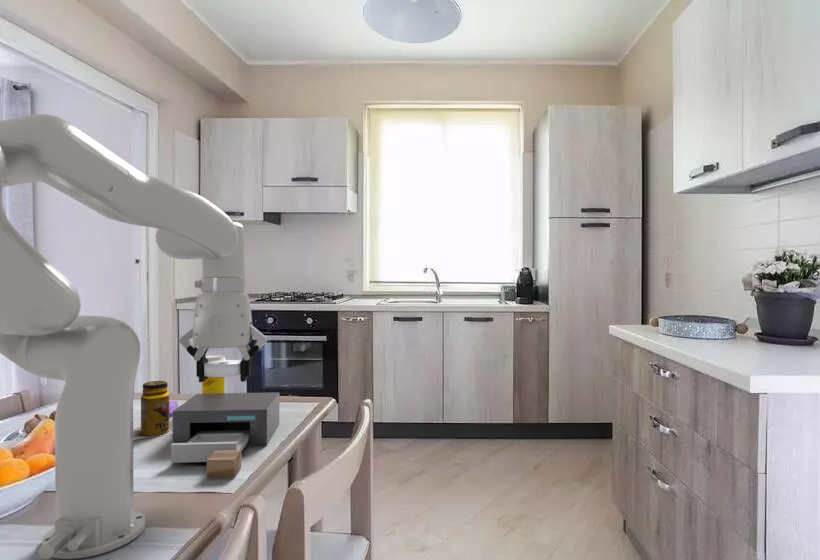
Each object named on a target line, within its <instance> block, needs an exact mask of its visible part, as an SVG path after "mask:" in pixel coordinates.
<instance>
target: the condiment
mask: <svg viewBox="0 0 820 560" xmlns="http://www.w3.org/2000/svg"><path fill="white" fill-rule="evenodd" d="M168 386H169V384H168V382H167V381H166V380H152V381H147V382H144V383H143V384H142V390H141V391H142V394H141V396H140V429H133V441H135V440H143V439H150V438H158V437H164V436H170V435H173V430H171V428H170V417H169V401H170V393H169V392H168ZM160 435H161V436H160ZM154 436H155V437H154Z"/></svg>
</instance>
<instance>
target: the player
mask: <svg viewBox="0 0 820 560" xmlns="http://www.w3.org/2000/svg"><path fill="white" fill-rule="evenodd" d="M279 425H280V392H226V393H214V394H202V393H196V394H195V395H194V396H192V397H191V398H189V399H188V400H187V401H185V402H184V403H182V404H181V405H178V407H177V409H175V410H174V411H173V417H172V433H173V434H172V444H173V443H187V442H188V441H189V440H190V439H191V438H192V437H193V436H194V435H196V434H197V433H198V432H199V431H232V430H250V440H249V441H248V442H247V444H246V445H245V447H266V446H268V445H269V443H270V441H271V439H272V437H273V436H274V434H275V432H276V431H277V429H278V427H279Z"/></svg>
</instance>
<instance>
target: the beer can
mask: <svg viewBox="0 0 820 560" xmlns="http://www.w3.org/2000/svg"><path fill="white" fill-rule="evenodd" d="M206 358H207V359H208V362H212V361H220V360H227V358H226V357H225V355H223V354H211V355H206ZM201 384H202V385H201V387H202V388H201V389H202V392H201V394H214V393H227V377H208V379H207V380H205V381H203V382H201Z"/></svg>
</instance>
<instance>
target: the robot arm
mask: <svg viewBox="0 0 820 560" xmlns="http://www.w3.org/2000/svg"><path fill="white" fill-rule="evenodd" d="M38 182H40V183H43V184H46V185H47V186H50V187H52V188H53V189H55V190H57V191H59V192H60V193H63V194H65V195H66V196H68V197H70V198H72V199H73V200H75V201H77V202H79V203H81V204H82V205H84V206H85V207H88V208H89V209H90V210H93V211H94V212H96V213H98V214H99V215H102V216H103V217H105V218H106V219H109V220H112V221H116V222H121V223H124V224H127V225H133V226H134V225H135V226H140V227H148V228H153V229H154V228H155V229H157V230H156V234H155V242H156V245H157V247H158V248H159V250H160V251H161V252H162V253H163V254H164V255H166V256H168V257H170V258H173V259H177V260H197V259H198V260H202V263H201V264H202V265H201V266H202V267H201V268H202V277H201V278H200V280H195V281H194V287H195V288H196V289H200V291H201V293H198V294H197V296H196V301H195V305H194V306H195V307H194V313H193V324H192V328H191V329H190V330H188V332H186V333H185V334H184V335H183V336H182V337H180V338H179V339H178V341H179V344H180V345H181V346H182V347H183V348H184V349H186V352H187V353H188V354H189V355H190V356H191V357H192V358H193V360H194V361H195V362H196V363H195V365H196V367H195V368H196V370H195V371H196V377H197V378H198V383H202V382H203V381H205V380H207V379H208V377H207V376H204V364H205V363H207V362H208V359H207V358H206V356H207V354H208V352H209V349H217V348H218V349H226V348H227V349H229V348H230V349H231V348H232V349H235V348H237V349H238V351H239V353H240V355H241V356H242V359H241V360H240V361H241V362H240V375H239V376H240V382H246V381H247V380H249V377H250V376H251V374H252V358H253V357H254V356H255V355H256V354H257V353H258V352H259V351H260V350H261V349H262V347H263V346H264V345H265V344H266V343H267V342H268V337H267V336H266V335H264V333H262V332H261V331H260V330H259V329H257V328H256V327H254V325H253V318H252V308H251V301H250V297H249V294H248V293H245V291H246V287H245V284H246V282H245V279H246V278H245V275H246V274H245V273H246V272H245V269H246V267H245V262H246V261H245V258H246V257H245V245H246V244H245V228H244V226H243V224H242V223H239V222H237V221H233V220H232V219H231V218H230V216H228V214H227V213H225V212H224V211H223V210H221V209H220V208H218V207H217V206H216V205H215V204H213V203H212V202H210V201H209V200H207V199H206V198H204V197H203V196H201V195H199V194H197V193H195V192H194V191H191V190H188V189H186V188H183V187H180V186H178V185H176V184H172V183H169V182H167V181H165V180H163V179H161V178H157V177H155V176H152V175H149V174H146V173H144V172H142V171H140V170H139V169H137V168H136V167H134V166H133V165H132V164H130V163H128V162H127V161H126V160H125V159H122V158H121V157H120V156H118V155H117V154H116V153H114V152H113V151H111V150H110V149H108V148H107V147H105V146H104V145H103V144H101V143H100V142H98V141H97V140H96V139H94V138H93V137H92V136H90V135H89V134H88V133H85V132H84V131H83V130H81V129H80V128H78V127H77V126H75V125H74V124H73V123H71V122H69V121H68V120H67V119H64V118H62V117H59V116H57V115H53V114H49V113H48V114H47V113H46V114H45V113H44V114H43V113H40V114H39V113H37V114H30V115H24V116H20V117H15V118H9V119H4V120H3V119H2V120H0V354H1V355H2V356H4V357H5V358H6V359H8V360H10V361H11V362H12V363H14V364H15V365H17V366H18V367H19V368H21V369H23V370H24V371H27V372H28V373H30V374H31V375H32V374H33V375H34V376H37V377H40V378H45V379H51V380H57V381H64V387H63V389H62V392H61V394H60V397H59V400H58V402H57V406H56V409H55V416H54V445H55V446H54V449H55V451H54V457H55V458H54V459H55V462H54V463H55V465H54V467H55V469H54V470H55V471H54V473H55V482H54V483H55V485H54V486H55V521H54V526H53V527H52V528H51V529H50V530H48V531H47V533H45V535H44V536H43V537H42V540H41V546H39V548H38V552H37V554H38V555H39V557H40V558H41V559H43V560H49V559H51V558H54V559H59V560H75V559H78V560H79V559H83V558H89V557H95V556H99V555H102V554H105V553H109V552H111V551H113V550H116V549H118V548H122V547H123V546H125V545H128V543H131V542H132V541H133V540H135V539H136V538H137V537H138V536H140V535H141V534H142V533H143V531H144V529H145V528H146V516H145V514H144V513H142V511H139V510H137V509H135V508H134V503H135V502H134V496H135V495H134V440H133V430H134V395H135V392H134V391H135V384H136V378H137V373H138V368H139V365H140V358H141V343H140V340H139V336H138V334H137V333H136V332H135V331H134V328H133V327H131V326H130V325H129V324H127V323H126V322H124V321H121V320H120V319H117V318H113V317H109V316H108V317H107V316H103V315H102V316H100V315H84V314H83V315H79V314H80V312H81V305H82V304H81V303H82V302H81V297H80V294H79V292H78V290H77V288H76V287H75V285H74V284H73V283H72V282H71V281H70V279H68V278H67V276H65V274H63V273H62V272H61V271H60V270H59V269H58V268H56V266H54V265H53V264H52V263H51V262H50V261H49V260H48V259H47V258H45V257H44V256H43V254H41V253H40V252H39V251H38V250H37V249H36V248H35V247H34V246H33V245H31V244H30V243H29V242H28V241H27V240H26V239H25V238H24V236H23V235H21V234H20V232H19V231H18V230H17V229H16V228H15V227H14V226H13V224H12V223H11V222H10V220H9V219H8V217H7V214H6V212H5V209H4V203H3V191H4V188H6V187H10V186H15V185H20V184H27V183H28V184H29V183H38ZM253 338H254V339H256V343H255V344H254V345H253V346H252V347H251V348H250V346H249V344H251V342H252V341H253Z"/></svg>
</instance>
